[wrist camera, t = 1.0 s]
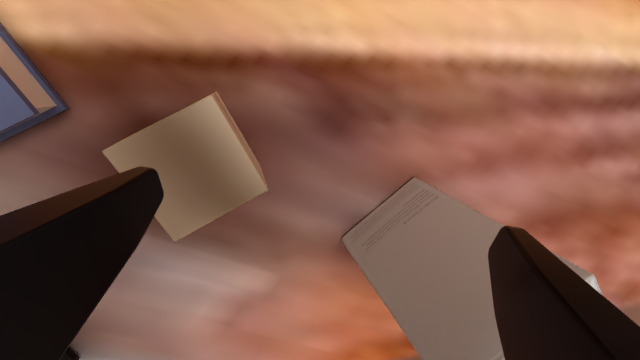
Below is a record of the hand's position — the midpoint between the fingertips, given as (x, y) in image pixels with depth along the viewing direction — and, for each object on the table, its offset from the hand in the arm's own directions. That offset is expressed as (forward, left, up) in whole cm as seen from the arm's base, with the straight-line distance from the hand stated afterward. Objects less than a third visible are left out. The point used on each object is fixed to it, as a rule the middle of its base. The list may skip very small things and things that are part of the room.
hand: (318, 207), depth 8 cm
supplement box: (+5, -12, -12) cm, 18 cm away
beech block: (-4, +1, -12) cm, 13 cm away
